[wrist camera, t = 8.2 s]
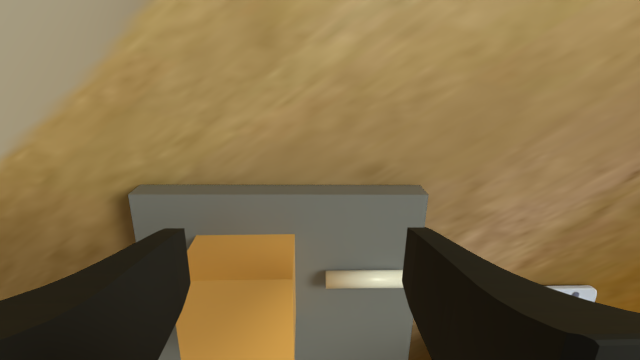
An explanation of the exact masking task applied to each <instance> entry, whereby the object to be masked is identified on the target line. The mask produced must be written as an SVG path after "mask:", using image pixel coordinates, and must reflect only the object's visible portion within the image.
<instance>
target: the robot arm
mask: <svg viewBox="0 0 640 360" xmlns="http://www.w3.org/2000/svg"><path fill="white" fill-rule="evenodd" d="M190 284H191V281H190V272H189V264H188V255H187V246H186V238H185V229H184V228H165V229H162V230H160V231H157V232H155V233H153V234H151V235H149V236H147V237H145V238H144V239H142V240H140V241H138V242H136V243H134V244H132V245H131V246H129V247H127V248H125V249H123V250H121V251H119V252H118V253H116V254H114V255H112V256H110V257H108V258H106V259H104V260H102V261H100V262H98V263H96V264H94V265H91V266H89V267H87V268H85V269H83V270H81V271H79V272H77V273H75V274H72V275H70V276H68V277H65V278H63V279H60V280H58V281H55V282H53V283H50V284H48V285H45V286H43V287H40V288H37V289H34V290H31V291H28V292H25V293H23V294H20V295H17V296H14V297H11V298H8V299H5V300H2V301H0V360H158V359H159V357H160V355H161V353H162V351H163V349H164V347H165V345H166V343H167V341H168V339H169V337H170V335H171V333H172V331H173V329H174V327H175V324H176V322H177V320H178V318H179V316H180V314H181V312H182V309H183V306H184V303H185V300H186V297H187V294H188V291H189V287H190ZM402 284H403V288H404V291H405V295H406V299H407V302H408V305H409V308H410V311H411V313H412V315H413V318H414V320H415V322H416V324H417V327H418V329H419V331H420V333H421V336H422V338H423V340H424V342H425V345H426V347H427V349H428V351H429V354H430V356H431V358H432V360H640V313H636V312H631V311H627V310H623V309H619V308H615V307H611V306H607V305H603V304H600V303H596V302H595V299H596V295H597V291H596V290H595V289H594V288H593V287H592V286H588V285H585V286H543V285H540V284H537V283H535V282H532V281H530V280H528V279H525V278H523V277H520V276H518V275H516V274H513V273H511V272H509V271H507V270H504V269H502V268H500V267H498V266H496V265H494V264H492V263H490V262H488V261H486V260H484V259H483V258H481V257H479V256H477V255H475V254H473V253H472V252H470V251H468V250H466V249H464V248H463V247H461V246H459V245H457V244H456V243H454V242H452V241H451V240H449V239H447V238H445V237H444V236H442V235H440V234H438V233H437V232H435V231H433V230H431V229H429V228H426V227H407V237H406V246H405V255H404V265H403V274H402ZM573 293H574V294H573Z"/></svg>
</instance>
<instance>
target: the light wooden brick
mask: <svg viewBox="0 0 640 360" xmlns="http://www.w3.org/2000/svg"><path fill="white" fill-rule="evenodd" d="M187 255H188V264H189V272H190V281H191V284H190V287H189V291H188V294H187V297H186V300H185V303H184V306H183V309H182V312H181V314H180V316H179V318H178V320H177V322H176V329H177V336H178V343H179V350H180V357H181V360H295V325H296V293H295V234H265V235H196V237H195V238H194V240H193V242H192V244H191V245H190V247H189V249H188V250H187Z"/></svg>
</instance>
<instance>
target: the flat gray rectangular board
mask: <svg viewBox="0 0 640 360" xmlns="http://www.w3.org/2000/svg"><path fill="white" fill-rule="evenodd" d="M128 198H129V204H130V210H131V216H132V222H133V228H134V234H135V240H136V242H138V241H140V240H142V239H144V238H145V237H147V236H149V235H151V234H153V233H155V232H157V231H160V230H162V229H165V228H184V229H185V238H186V246H187V250H188V249H189V247H190V245H191V244H192V242H193V240H194V238H195V237H196V235H265V234H295V293H296V325H295V360H408V356H409V348H410V340H411V332H412V324H413V315H412V313H411V311H410V308H409V305H408V302H407V299H406V295H405V291H404V288H403V284H402V274H403V265H404V255H405V246H406V237H407V227H424V226H425V218H426V210H427V202H428V194H427V193H426V191H425V190H424V189H423V188H422V187H421V186H420V185H139V186H138V187H137V188H135V189H134V190H133V191H132V192H131V193H129V194H128ZM158 360H181V357H180V350H179V343H178V336H177V329H176V324H175V327H174V329H173V331H172V333H171V335H170V337H169V339H168V341H167V343H166V345H165V347H164V349H163V351H162V353H161V355H160V357H159V359H158Z"/></svg>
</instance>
